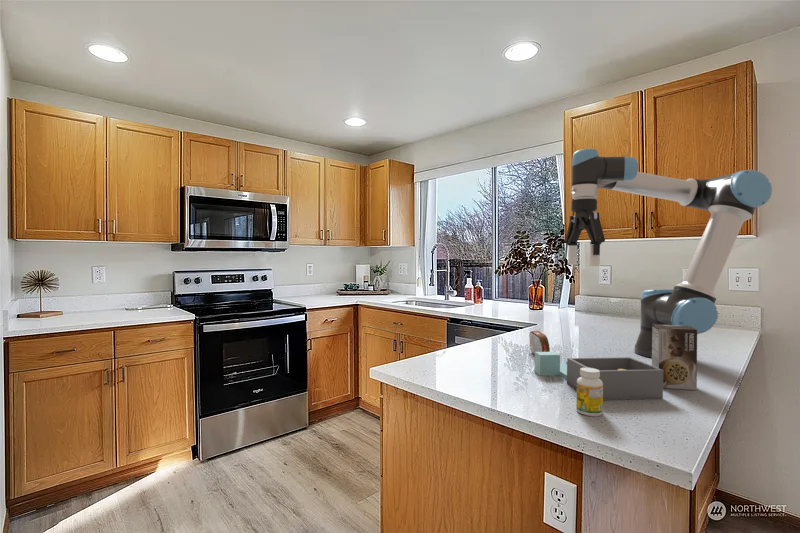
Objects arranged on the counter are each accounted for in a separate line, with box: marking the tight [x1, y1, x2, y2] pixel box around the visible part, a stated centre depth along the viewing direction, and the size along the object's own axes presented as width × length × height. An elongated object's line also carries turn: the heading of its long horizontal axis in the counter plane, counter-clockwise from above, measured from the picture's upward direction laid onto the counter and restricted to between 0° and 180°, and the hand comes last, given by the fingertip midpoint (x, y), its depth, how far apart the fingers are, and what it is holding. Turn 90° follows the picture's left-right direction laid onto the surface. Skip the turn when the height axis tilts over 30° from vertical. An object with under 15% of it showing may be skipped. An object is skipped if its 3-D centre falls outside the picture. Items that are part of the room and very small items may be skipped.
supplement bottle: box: [575, 368, 604, 417], centre depth 94 cm, size 5×5×10 cm
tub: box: [566, 356, 664, 401], centre depth 109 cm, size 18×13×7 cm
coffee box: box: [651, 324, 698, 391], centre depth 114 cm, size 9×6×16 cm
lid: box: [533, 351, 567, 380], centre depth 125 cm, size 25×14×6 cm, turn 95°
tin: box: [528, 330, 551, 356], centre depth 146 cm, size 15×3×8 cm, turn 179°
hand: (583, 265), depth 136 cm, fingers open, 13 cm apart
